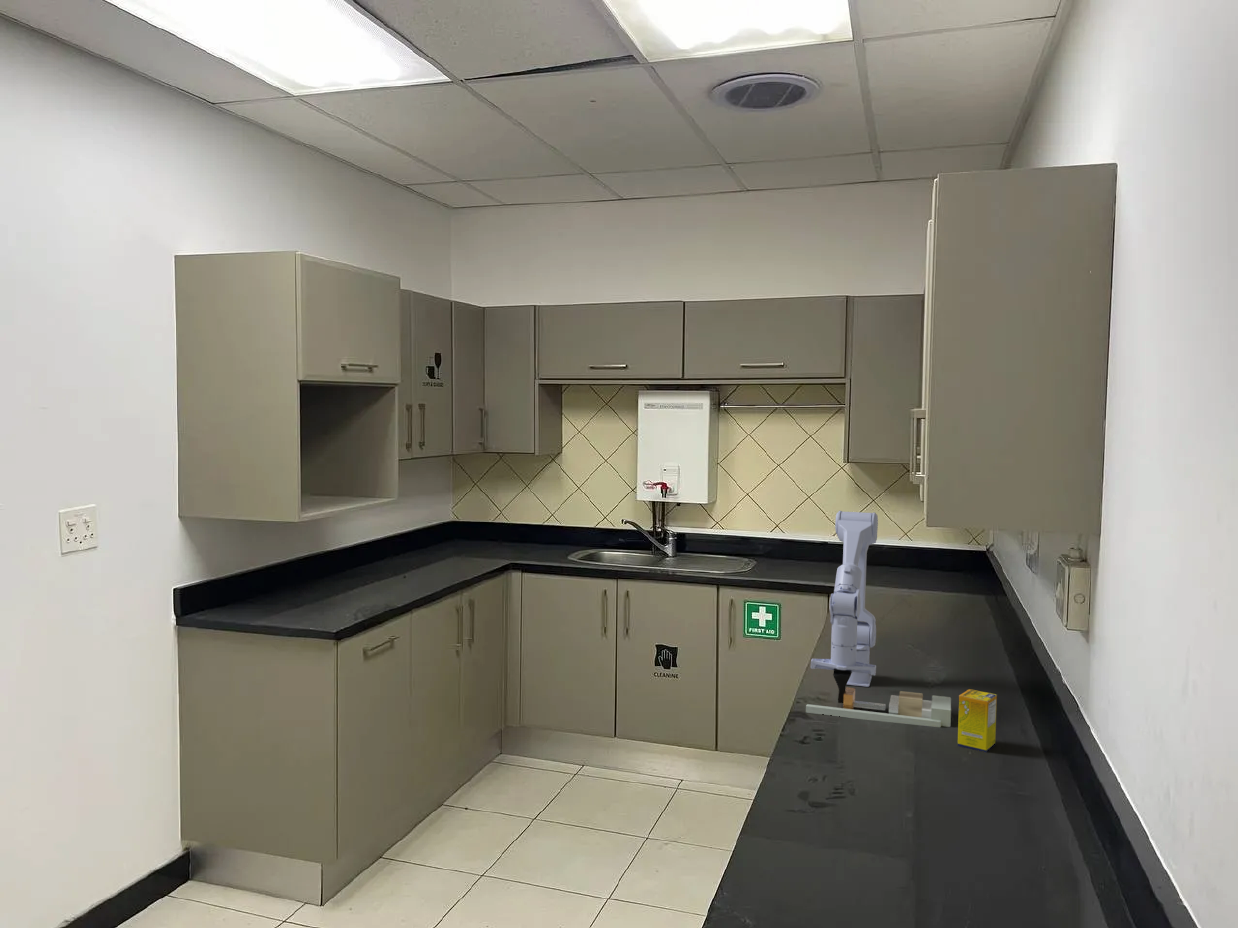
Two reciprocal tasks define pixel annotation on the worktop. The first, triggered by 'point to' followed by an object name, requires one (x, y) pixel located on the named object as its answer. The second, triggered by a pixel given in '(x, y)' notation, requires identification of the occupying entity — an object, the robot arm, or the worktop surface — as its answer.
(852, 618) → the robot arm
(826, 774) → the worktop surface
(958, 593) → the worktop surface
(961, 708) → the supplement box
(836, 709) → the vise
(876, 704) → the vise jaw
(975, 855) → the worktop surface
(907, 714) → the maple block
